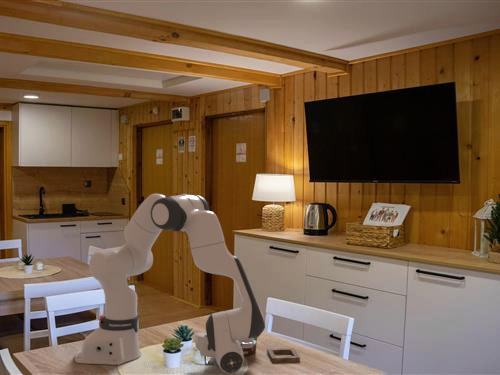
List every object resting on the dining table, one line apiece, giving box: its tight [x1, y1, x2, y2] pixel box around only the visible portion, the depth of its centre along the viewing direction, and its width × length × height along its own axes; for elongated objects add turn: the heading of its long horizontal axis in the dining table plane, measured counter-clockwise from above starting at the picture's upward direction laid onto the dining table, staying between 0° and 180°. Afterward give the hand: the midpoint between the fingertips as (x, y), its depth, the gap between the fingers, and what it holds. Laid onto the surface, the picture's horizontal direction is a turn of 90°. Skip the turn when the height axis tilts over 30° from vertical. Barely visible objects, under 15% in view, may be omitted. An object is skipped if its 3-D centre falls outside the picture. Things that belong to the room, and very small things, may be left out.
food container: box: [242, 337, 258, 357], centre depth 189 cm, size 12×6×10 cm, turn 168°
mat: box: [207, 357, 218, 365], centre depth 181 cm, size 12×10×1 cm
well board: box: [266, 347, 301, 363], centre depth 184 cm, size 10×10×2 cm
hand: (222, 332), depth 182 cm, fingers closed on sage block, 5 cm apart
